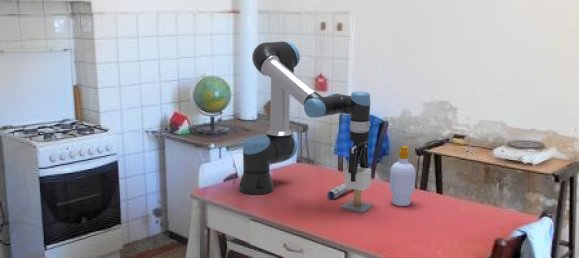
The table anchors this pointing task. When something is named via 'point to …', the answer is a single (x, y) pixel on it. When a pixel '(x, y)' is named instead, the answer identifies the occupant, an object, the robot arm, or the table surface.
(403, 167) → the soap bottle
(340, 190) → the toothbrush head
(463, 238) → the table surface
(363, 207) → the peg on square base
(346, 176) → the nut
